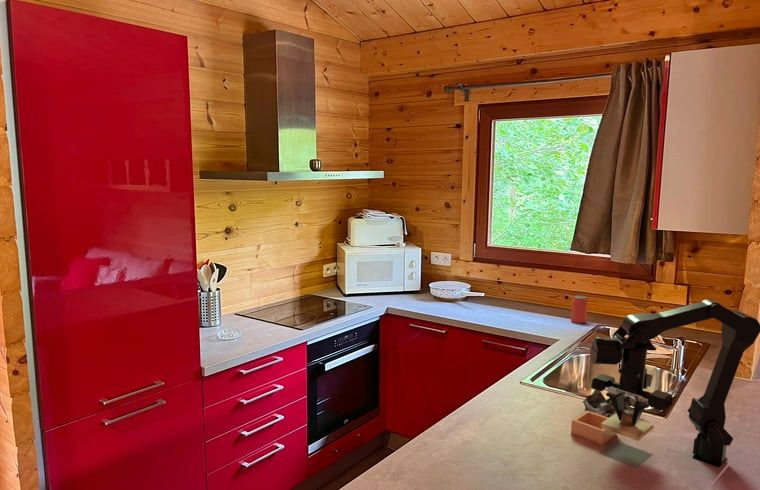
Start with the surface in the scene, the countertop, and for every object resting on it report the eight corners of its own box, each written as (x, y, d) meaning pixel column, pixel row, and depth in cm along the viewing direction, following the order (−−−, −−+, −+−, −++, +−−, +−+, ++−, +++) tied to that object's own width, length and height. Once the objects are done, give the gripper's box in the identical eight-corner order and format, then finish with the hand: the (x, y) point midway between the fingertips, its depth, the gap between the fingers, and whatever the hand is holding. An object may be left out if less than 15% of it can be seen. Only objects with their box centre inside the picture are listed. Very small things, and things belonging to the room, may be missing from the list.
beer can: (587, 324, 269) (589, 298, 267) (573, 323, 269) (575, 298, 267) (582, 319, 276) (584, 295, 274) (568, 319, 276) (570, 294, 274)
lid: (653, 428, 151) (654, 413, 150) (638, 441, 144) (640, 425, 144) (616, 416, 158) (617, 401, 157) (600, 427, 151) (602, 412, 150)
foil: (582, 392, 184) (628, 375, 177) (599, 423, 183) (646, 407, 176) (576, 404, 174) (623, 386, 167) (594, 437, 172) (643, 421, 166)
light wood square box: (616, 436, 162) (617, 420, 162) (602, 447, 156) (603, 431, 155) (585, 425, 169) (586, 410, 168) (570, 435, 162) (571, 420, 162)
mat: (652, 455, 152) (652, 454, 152) (637, 469, 145) (637, 468, 145) (614, 441, 159) (614, 440, 159) (598, 454, 152) (598, 453, 152)
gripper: (683, 367, 147) (676, 425, 150) (610, 348, 160) (606, 402, 163) (667, 378, 140) (660, 439, 142) (592, 358, 153) (587, 414, 155)
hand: (627, 422), depth 151 cm, fingers closed on lid, 3 cm apart
